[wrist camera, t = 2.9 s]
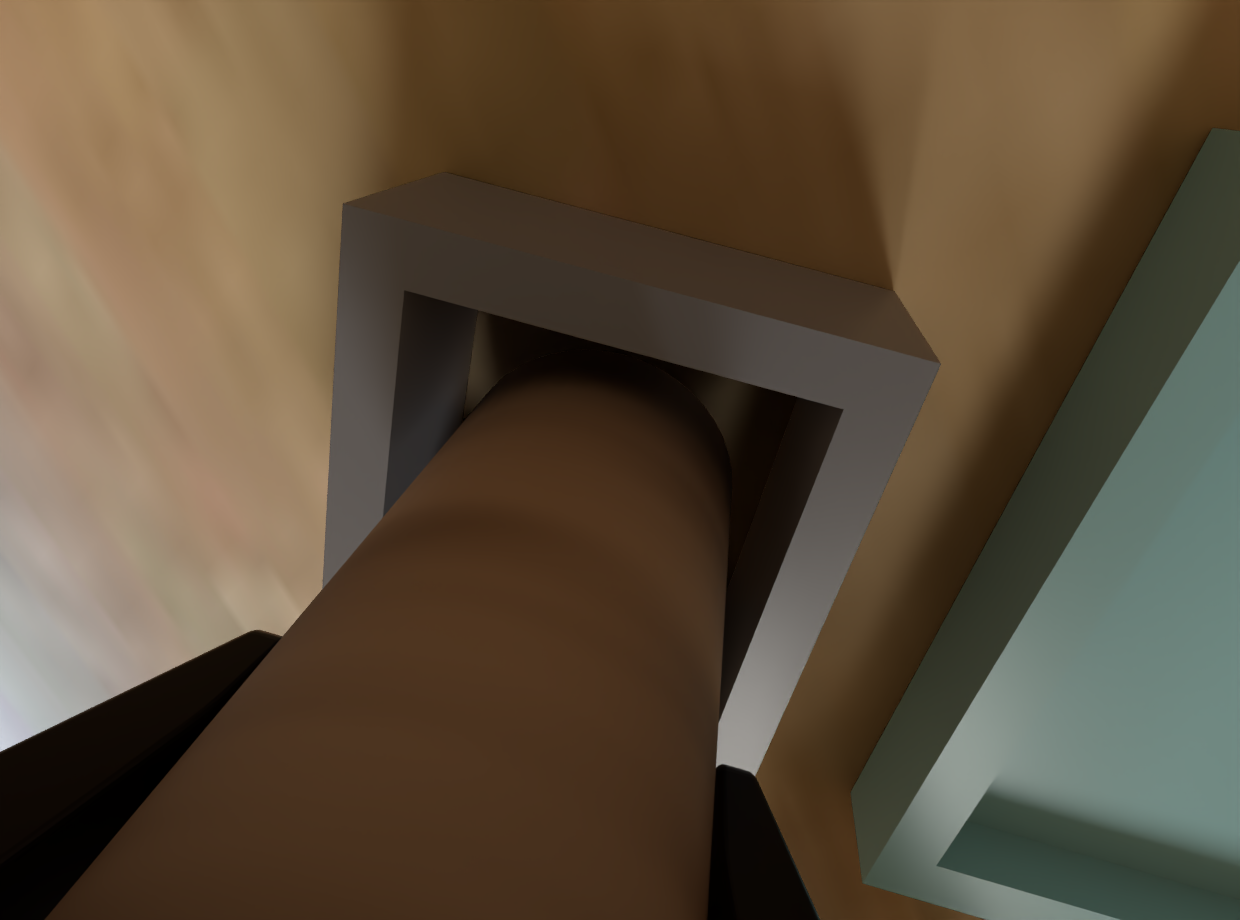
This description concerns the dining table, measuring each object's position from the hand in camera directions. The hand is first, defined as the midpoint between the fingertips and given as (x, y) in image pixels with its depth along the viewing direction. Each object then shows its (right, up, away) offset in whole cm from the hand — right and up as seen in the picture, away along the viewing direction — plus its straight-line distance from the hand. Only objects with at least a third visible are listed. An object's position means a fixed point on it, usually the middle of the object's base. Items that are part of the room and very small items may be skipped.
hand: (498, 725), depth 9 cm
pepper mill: (+1, +3, +5) cm, 6 cm away
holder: (+1, +4, +7) cm, 8 cm away
